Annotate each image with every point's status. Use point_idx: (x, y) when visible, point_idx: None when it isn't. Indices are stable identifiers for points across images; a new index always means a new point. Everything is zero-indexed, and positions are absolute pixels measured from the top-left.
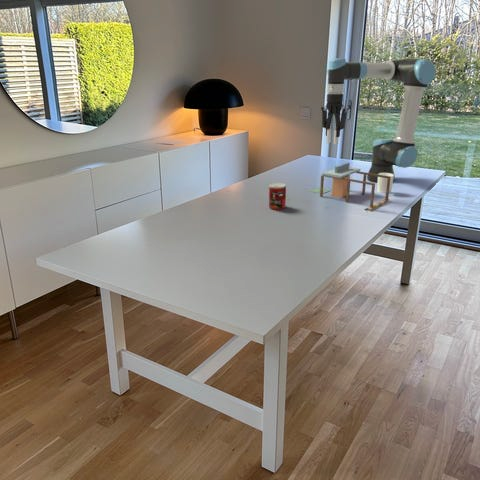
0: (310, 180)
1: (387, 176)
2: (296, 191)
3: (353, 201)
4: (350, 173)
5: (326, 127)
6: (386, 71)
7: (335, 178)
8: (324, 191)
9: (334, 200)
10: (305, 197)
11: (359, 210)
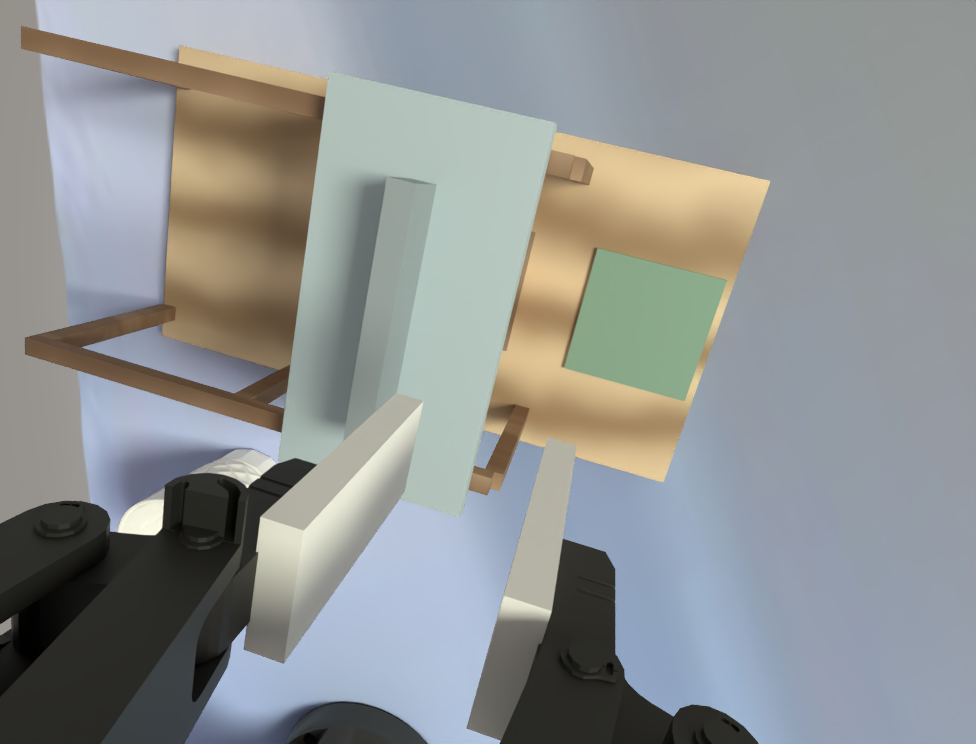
0: (813, 644)
1: (45, 349)
2: (847, 300)
3: None
4: (307, 274)
5: (582, 675)
6: None
7: None
8: (599, 318)
9: None
10: (720, 160)
11: (252, 27)
